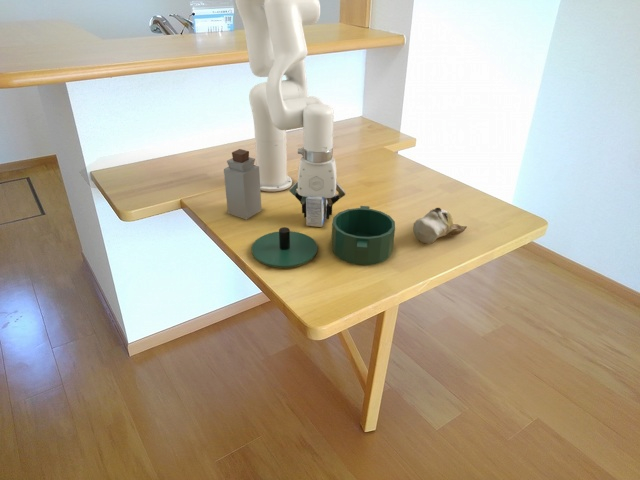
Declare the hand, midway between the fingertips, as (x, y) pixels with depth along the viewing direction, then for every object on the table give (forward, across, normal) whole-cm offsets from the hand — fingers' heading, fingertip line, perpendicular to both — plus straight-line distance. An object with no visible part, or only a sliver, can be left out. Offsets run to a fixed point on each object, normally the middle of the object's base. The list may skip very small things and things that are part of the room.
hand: (317, 215), depth 132 cm
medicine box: (+2, 0, 0) cm, 2 cm away
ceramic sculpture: (+2, +32, -4) cm, 32 cm away
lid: (+1, -6, -17) cm, 18 cm away
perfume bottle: (+2, -21, +2) cm, 21 cm away
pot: (+1, +13, -13) cm, 18 cm away
